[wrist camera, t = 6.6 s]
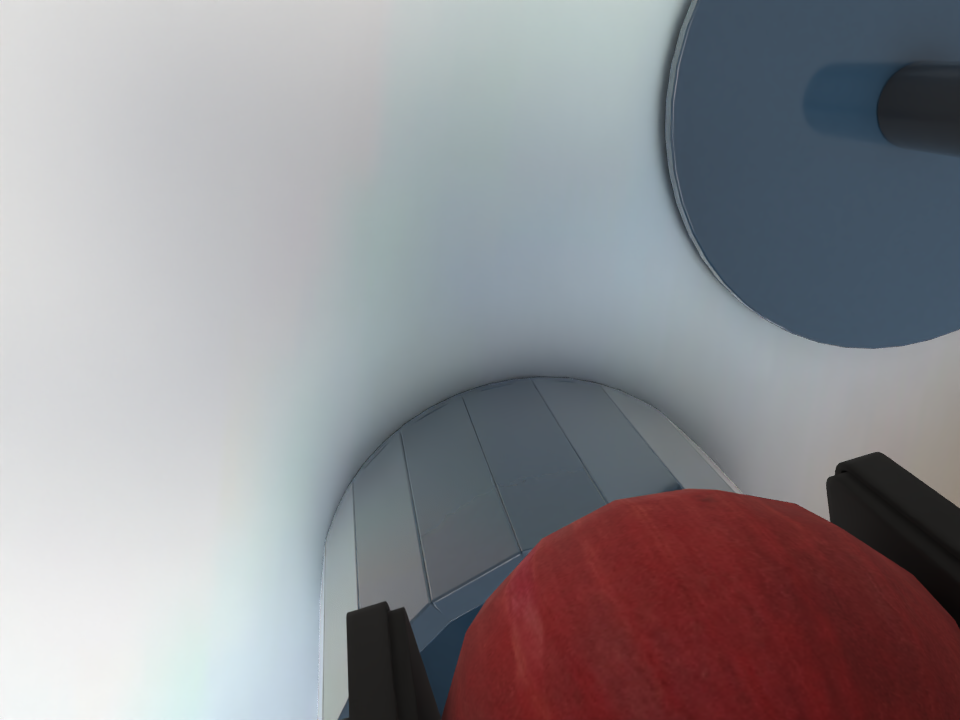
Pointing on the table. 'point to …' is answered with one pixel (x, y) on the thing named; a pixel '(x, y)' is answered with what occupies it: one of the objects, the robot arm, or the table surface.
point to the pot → (484, 507)
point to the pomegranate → (707, 622)
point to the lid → (823, 162)
